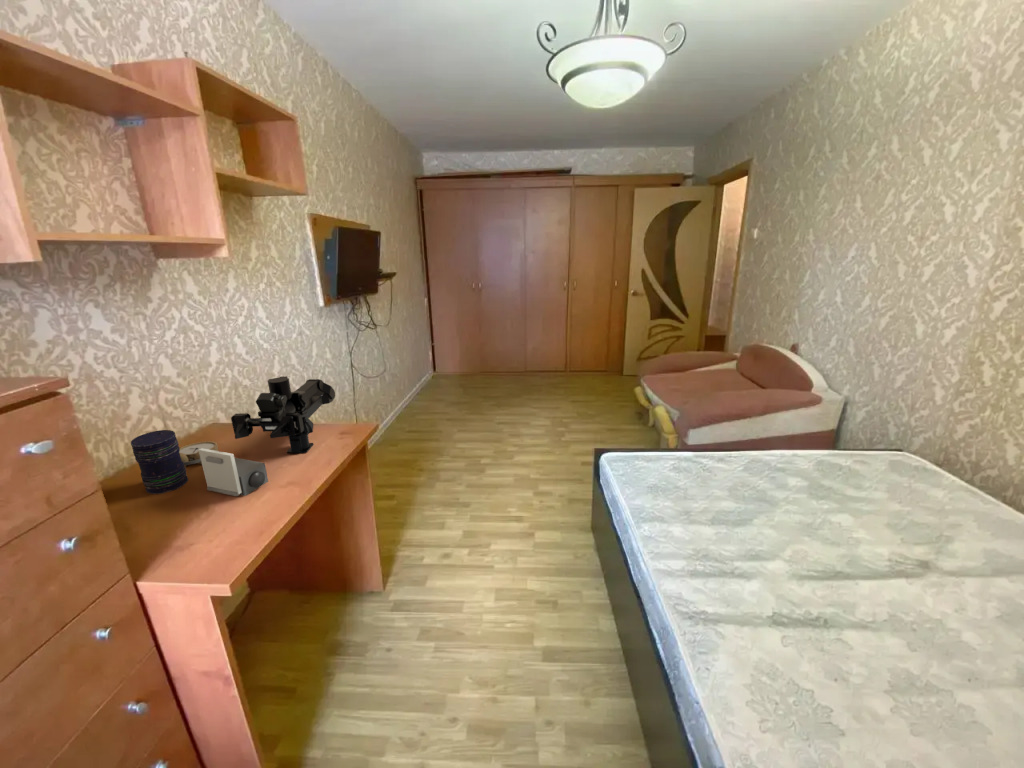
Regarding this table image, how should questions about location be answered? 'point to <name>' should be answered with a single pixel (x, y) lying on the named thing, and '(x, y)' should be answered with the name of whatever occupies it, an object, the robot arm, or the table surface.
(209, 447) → the alarm clock
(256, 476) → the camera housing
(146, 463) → the storage jar
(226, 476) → the door
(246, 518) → the table surface
